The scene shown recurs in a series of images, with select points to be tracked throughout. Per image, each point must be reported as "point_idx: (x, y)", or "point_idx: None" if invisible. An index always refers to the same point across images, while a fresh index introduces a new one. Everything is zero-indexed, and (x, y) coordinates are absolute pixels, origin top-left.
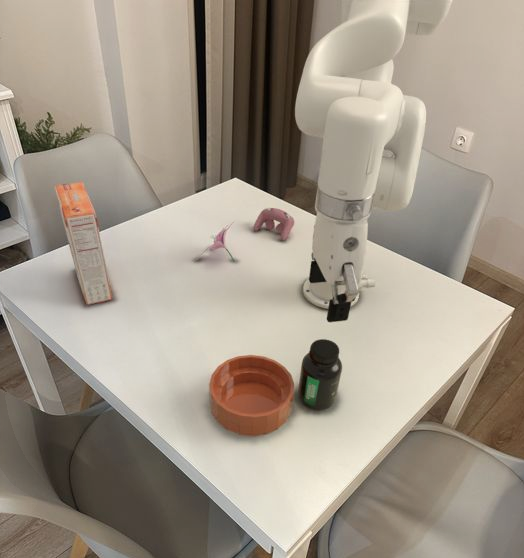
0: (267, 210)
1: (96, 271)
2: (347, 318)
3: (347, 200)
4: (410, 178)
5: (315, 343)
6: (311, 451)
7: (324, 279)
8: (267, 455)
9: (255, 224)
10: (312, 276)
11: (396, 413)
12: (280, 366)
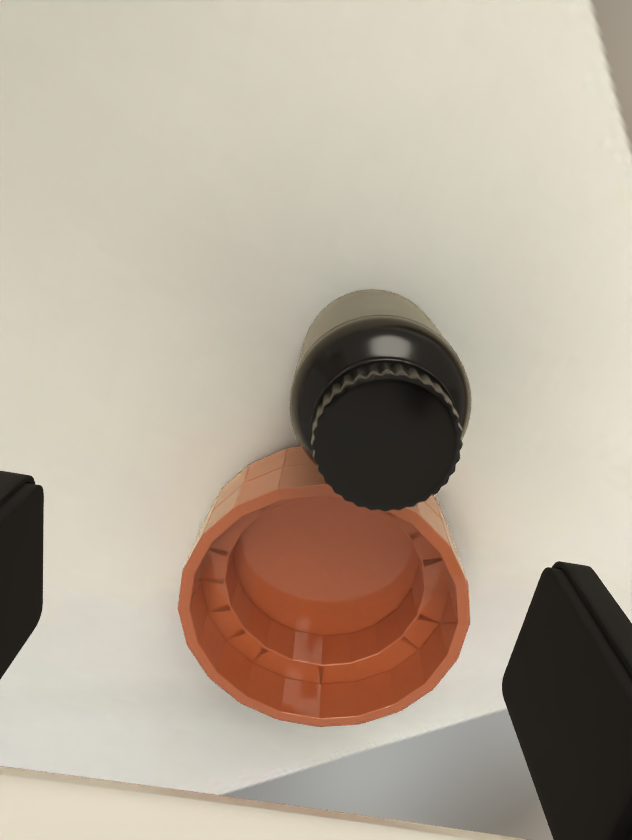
0: None
1: None
2: (593, 574)
3: None
4: None
5: (334, 471)
6: (558, 466)
7: (28, 527)
8: (510, 576)
9: None
10: (5, 665)
11: (565, 92)
12: (272, 501)
